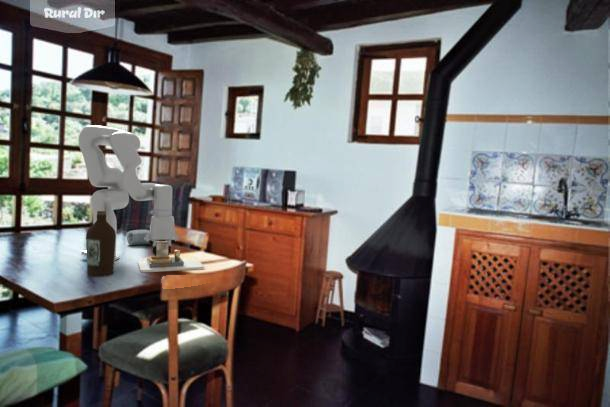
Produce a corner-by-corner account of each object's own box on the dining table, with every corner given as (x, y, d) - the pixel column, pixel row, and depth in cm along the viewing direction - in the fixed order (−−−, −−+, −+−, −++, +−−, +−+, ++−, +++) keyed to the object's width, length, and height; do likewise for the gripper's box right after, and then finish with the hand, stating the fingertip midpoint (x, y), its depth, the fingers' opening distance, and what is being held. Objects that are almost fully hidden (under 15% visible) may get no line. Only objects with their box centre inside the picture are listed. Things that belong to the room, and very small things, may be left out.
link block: (156, 257, 181) (156, 243, 180) (154, 255, 185) (155, 241, 185) (168, 256, 183) (168, 243, 183) (166, 254, 187) (166, 241, 187)
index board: (140, 272, 173) (141, 269, 173) (137, 263, 188) (137, 260, 188) (204, 268, 185) (204, 266, 185) (196, 260, 199) (196, 258, 199)
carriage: (149, 267, 178) (149, 253, 177) (146, 261, 187) (147, 248, 186) (183, 265, 184) (184, 252, 183) (179, 260, 193) (179, 247, 192)
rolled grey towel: (126, 241, 218) (130, 223, 222) (123, 246, 226) (127, 229, 230) (153, 246, 224) (157, 229, 228) (149, 251, 231) (153, 234, 236)
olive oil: (101, 268, 175) (102, 209, 173) (121, 272, 172) (122, 211, 169) (79, 274, 166) (79, 211, 163) (99, 278, 162) (100, 213, 159)
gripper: (142, 214, 175) (141, 257, 177) (184, 214, 183) (183, 255, 185) (140, 212, 182) (139, 253, 184) (181, 212, 190) (179, 252, 191)
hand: (161, 254), depth 184 cm, fingers closed on link block, 4 cm apart
